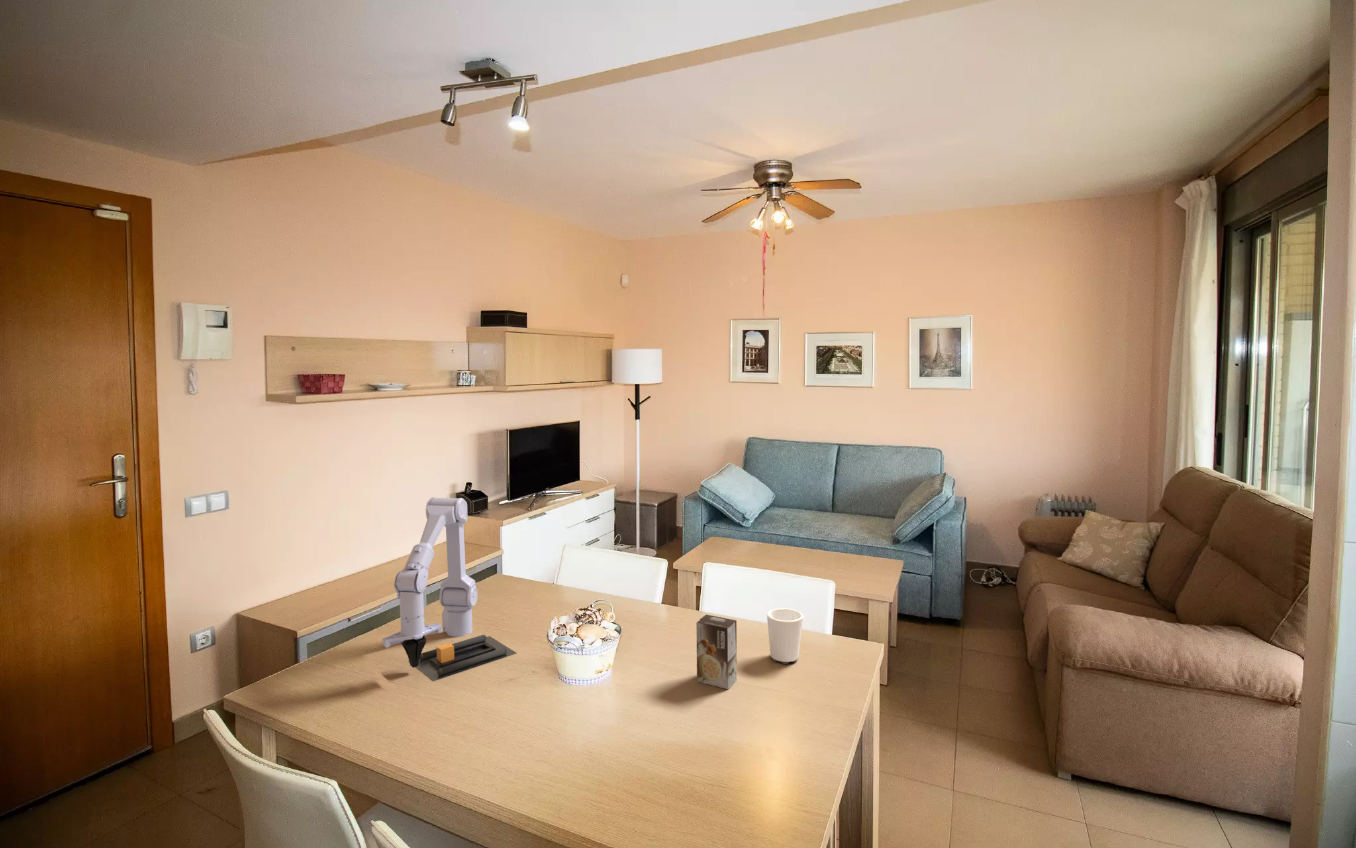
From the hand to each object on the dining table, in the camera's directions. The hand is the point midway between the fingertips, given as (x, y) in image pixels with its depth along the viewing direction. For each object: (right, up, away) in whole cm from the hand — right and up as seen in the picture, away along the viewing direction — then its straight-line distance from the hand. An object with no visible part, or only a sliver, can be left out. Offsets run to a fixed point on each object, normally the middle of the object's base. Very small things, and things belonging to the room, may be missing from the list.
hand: (414, 665), depth 176 cm
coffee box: (+79, -4, -1) cm, 79 cm away
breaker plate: (+10, -2, +10) cm, 14 cm away
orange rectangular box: (+6, -1, +6) cm, 9 cm away
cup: (+98, -3, +12) cm, 99 cm away
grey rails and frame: (+10, -1, +9) cm, 14 cm away
